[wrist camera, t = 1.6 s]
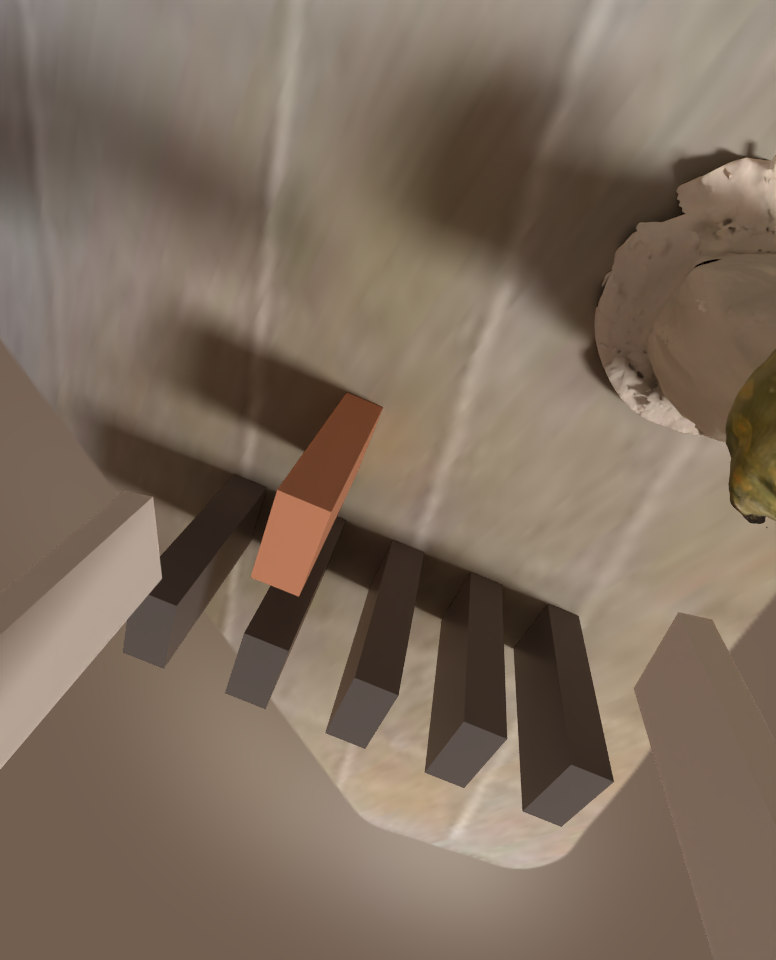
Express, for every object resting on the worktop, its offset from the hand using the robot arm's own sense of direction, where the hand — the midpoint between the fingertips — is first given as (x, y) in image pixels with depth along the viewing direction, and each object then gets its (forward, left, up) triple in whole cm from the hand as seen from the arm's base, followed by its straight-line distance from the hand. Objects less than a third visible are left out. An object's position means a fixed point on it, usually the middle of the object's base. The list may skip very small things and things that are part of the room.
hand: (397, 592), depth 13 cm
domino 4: (+3, -15, -19) cm, 25 cm away
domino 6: (+15, -15, -19) cm, 29 cm away
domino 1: (-9, -15, -19) cm, 26 cm away
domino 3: (-3, -15, -19) cm, 25 cm away
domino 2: (-4, -6, -19) cm, 21 cm away
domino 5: (+9, -15, -19) cm, 26 cm away
